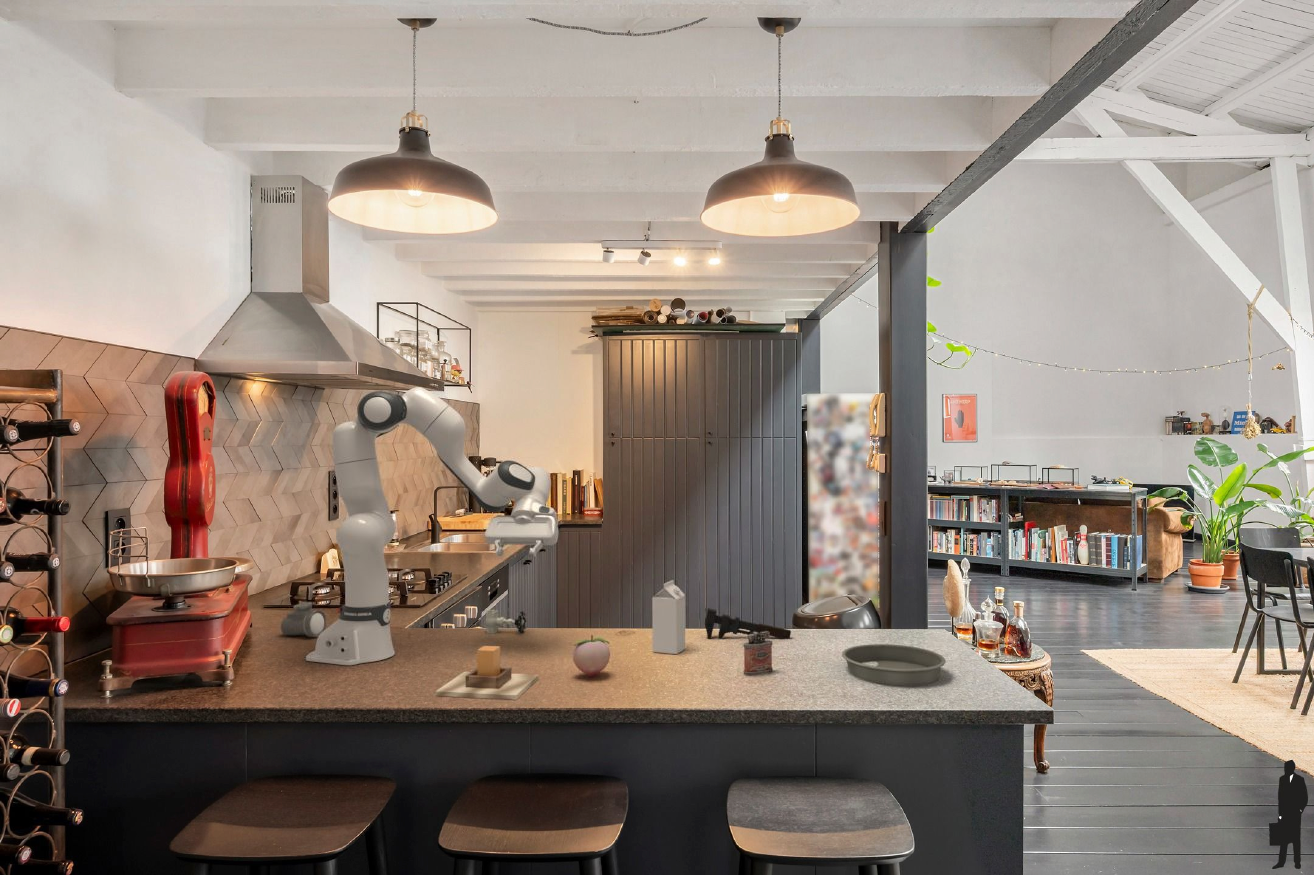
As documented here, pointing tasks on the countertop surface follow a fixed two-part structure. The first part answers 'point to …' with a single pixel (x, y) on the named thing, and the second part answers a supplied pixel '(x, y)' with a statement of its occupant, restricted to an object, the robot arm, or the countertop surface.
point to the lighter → (758, 654)
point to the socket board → (488, 685)
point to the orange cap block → (488, 661)
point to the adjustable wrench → (739, 626)
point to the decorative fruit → (591, 655)
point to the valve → (503, 621)
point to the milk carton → (669, 619)
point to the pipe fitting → (304, 621)
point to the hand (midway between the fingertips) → (515, 555)
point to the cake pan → (894, 664)
